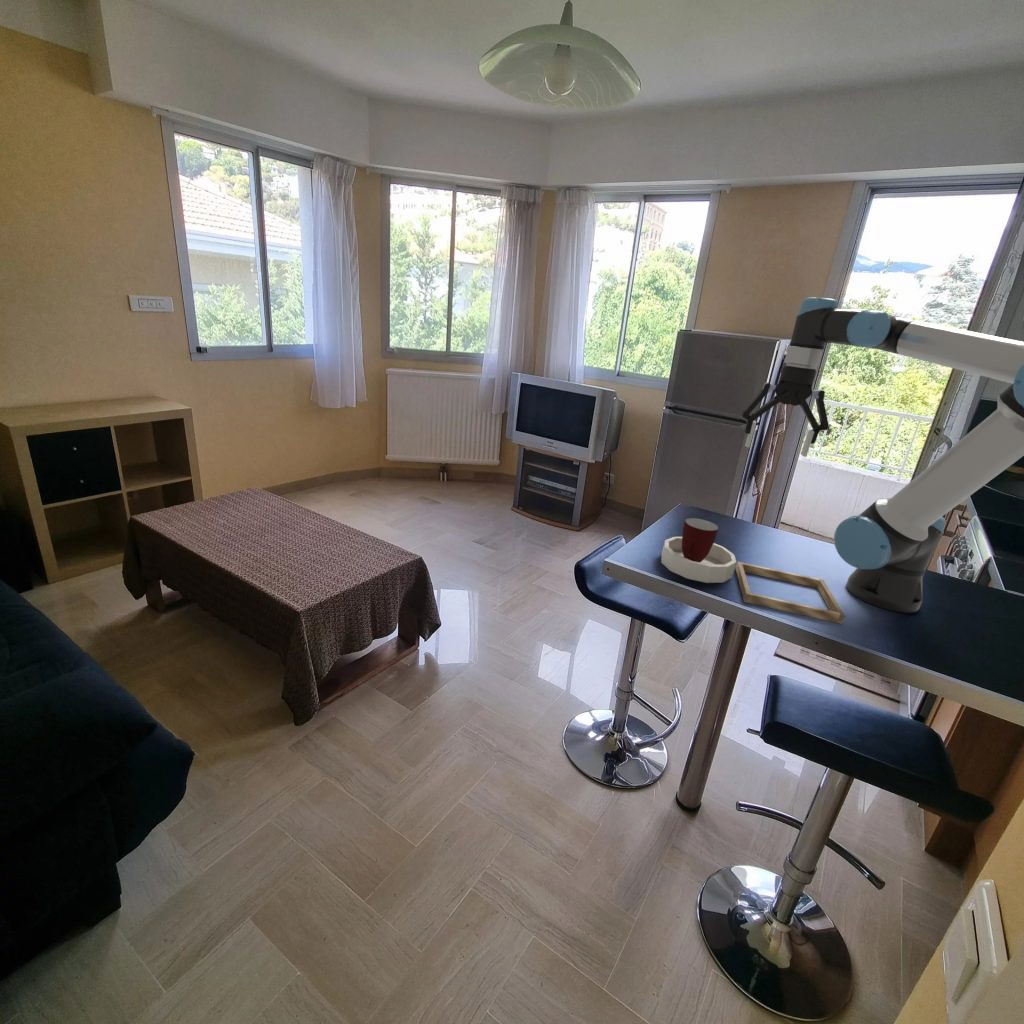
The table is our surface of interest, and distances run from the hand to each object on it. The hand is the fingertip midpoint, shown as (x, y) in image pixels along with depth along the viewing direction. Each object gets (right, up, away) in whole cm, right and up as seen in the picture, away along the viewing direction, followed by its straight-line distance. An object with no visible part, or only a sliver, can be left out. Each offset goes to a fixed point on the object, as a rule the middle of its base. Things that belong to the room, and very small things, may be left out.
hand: (774, 451), depth 134 cm
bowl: (-22, -29, -3) cm, 37 cm away
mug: (-23, -29, -3) cm, 37 cm away
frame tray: (-4, -35, -12) cm, 37 cm away
